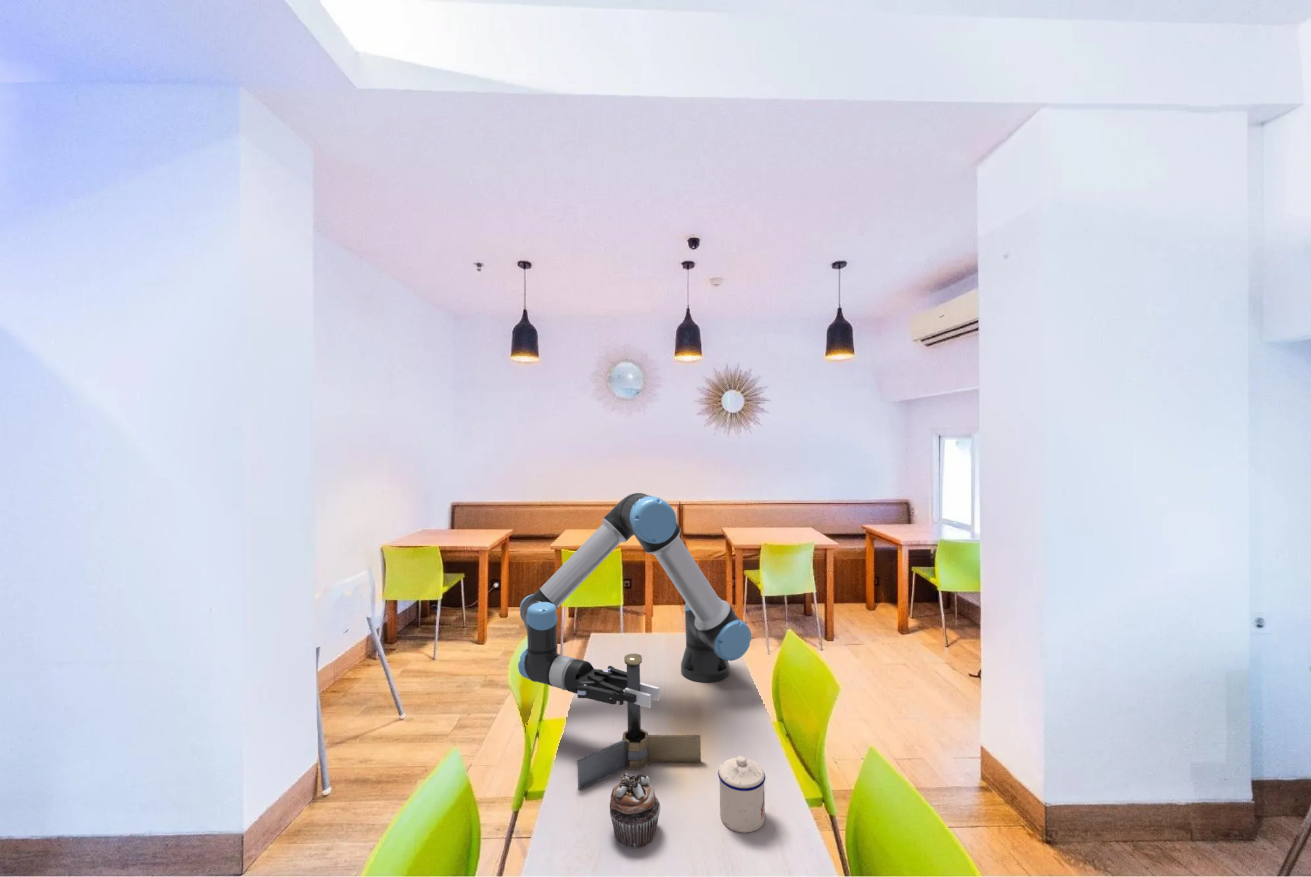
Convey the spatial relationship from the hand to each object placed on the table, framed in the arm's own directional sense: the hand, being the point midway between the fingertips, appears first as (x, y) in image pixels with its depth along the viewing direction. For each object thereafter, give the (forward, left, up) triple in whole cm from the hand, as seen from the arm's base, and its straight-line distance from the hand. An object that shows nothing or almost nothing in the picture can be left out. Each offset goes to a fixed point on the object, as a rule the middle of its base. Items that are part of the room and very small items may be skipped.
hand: (654, 697), depth 120 cm
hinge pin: (+5, -3, -10) cm, 11 cm away
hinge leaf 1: (+9, +1, -16) cm, 19 cm away
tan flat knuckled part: (-1, -3, -16) cm, 16 cm away
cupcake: (+3, +19, -16) cm, 25 cm away
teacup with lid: (-17, +13, -16) cm, 27 cm away
